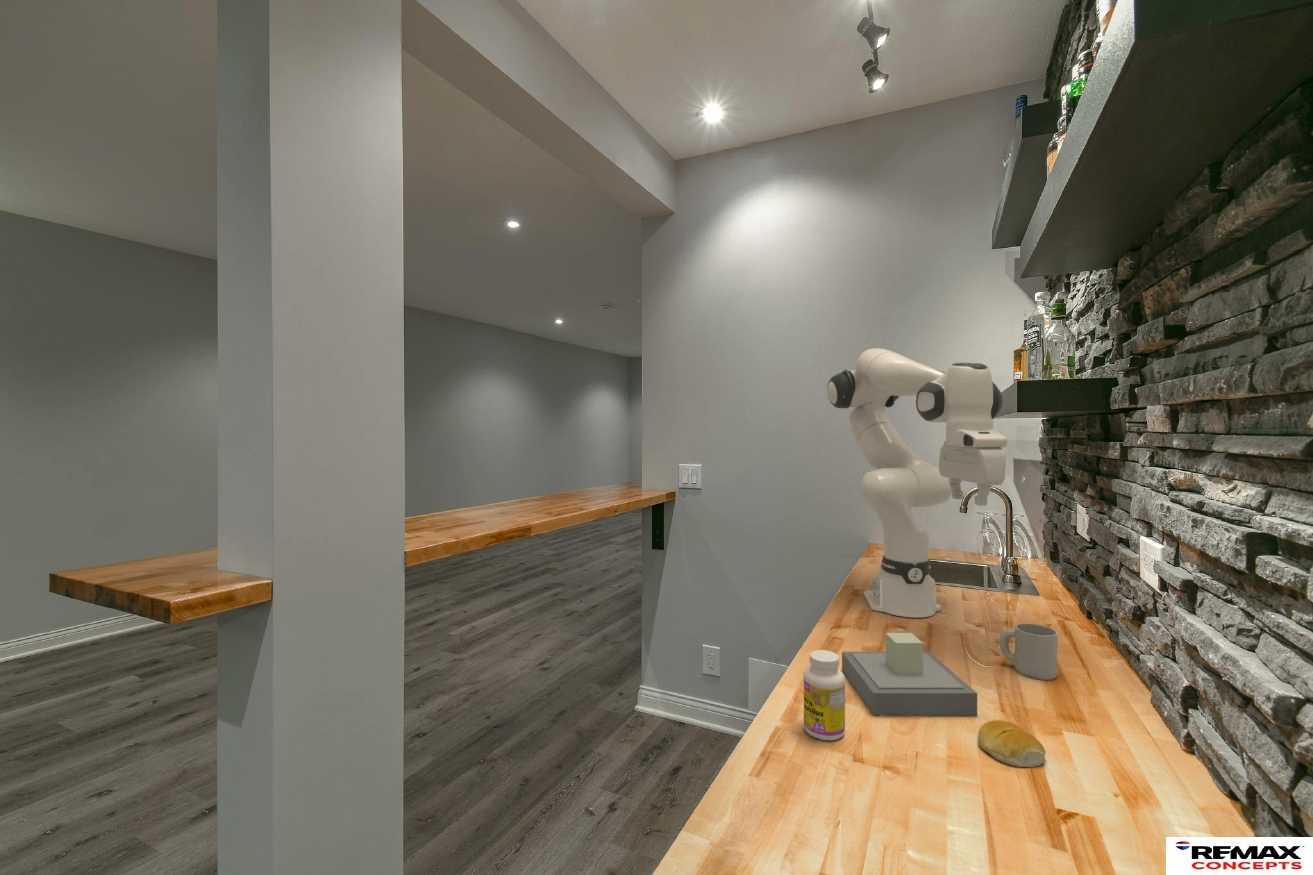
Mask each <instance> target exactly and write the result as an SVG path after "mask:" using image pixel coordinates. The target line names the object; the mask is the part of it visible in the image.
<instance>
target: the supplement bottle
mask: <svg viewBox="0 0 1313 875" xmlns="http://www.w3.org/2000/svg"><path fill="white" fill-rule="evenodd" d="M809 663H810V665H808V667H806V668H805V670H804V672H803V728H804V730H805V732H806V733H807V734H809V735H810V736H811V737H813V738H815V739H817V738H818V740H821V741H827V740H828V741H827V742H829V741H837V740H839V739H841V738H842V737H843V736H844V734H845V732H846V676H845V674H844V673H843V671H842V670H841V669H839V668H838V667H839V666H840V656H839V655H838V654H837V653H836V652H833V651H830V650H825V649H818V650H813V651H811V652H810V654H809Z"/></svg>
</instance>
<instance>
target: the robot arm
mask: <svg viewBox="0 0 1313 875" xmlns="http://www.w3.org/2000/svg"><path fill="white" fill-rule="evenodd" d="M857 358H858V359H857V360H856V366H855V367H856V368H855V369H853V370H847V369H844V370H843V371H841V372H839V373H837V374H834V375H833V376H832V377H831V378H830V379H829V381H828V382H827V385H826V386H827V387H826V389H827V390H826V393H827V397H828V400H829V402H830V404H832V406H833V407H834V408H837V409H849V408H853V409H852V411H851V412H850V414H849V418H848V419H849V424H850V427H851V431H852V434H853V436H854V438H855V441H856V442H857V444H858V446H859V449H860V450H861V452H862V454H863V455H864V458H865V459H866V460H867V463H868V464H869V465H870V466H871V467H873V468H874V470H870V471H868V472H866V473H865V474H864V475H863V477H862V478H861V481H860V484H859V491H860V495H861V496H860V497H862V500H864V503H866V505H868V506H869V507H870V508H872V509H873V511H875V513H876V515H877V517H878V518H879V521H880V523H881V526H882V532H883V549H884V551H883V552H884V555H882V560H881V566H880V568H881V569H880V570H879V571H877V573H876V574H874V575H873V576H872V580H869V581H868V588H869V589H868V590H864V592H863V596H864V598H865V600H866V602H867V604H868V606H869V608H870V610H872V611H876V612H881V613H882V612H883V613H886V614H888V615H893V616H898V617H904V618H914V619H915V618H927V617H932V616H934V615H935V614H936V612H940V611H942V606H941V604H939V603H937V593H936V592H937V591H936V581H935V579H934V578H933V577H932V576H931V575H930V574H931V569H932V568H931V560H930V559H929V533H928V530H927V528H926V527H925V526H924V525H922V524H920V523H919V522H918V521H916V520H915V519H914V516H913V513H912V508H925V507H926V508H927V507H929V508H930V507H932V506H936V505H941V504H942V503H943V504H944V503H946V502H947V501H948V500H949V499H950V498H952V499H954V500H963V498H964V491H962V487H961V483H962V482H969V483H972V484H973V483H974V484H976V489H977V490H978V491H977V494H976V495H975V496H974V504H975V506H976V505H977V506H981V507H982V506H987V505H988V497H989V495H990V492H991V491H992V486H1001V485H1002V484H1003V483H1004V481H1005V478H1006V467H1007V466H1006V464H1007V463H1006V460H1007V458H1006V452H1005V450H1004V449H1003V448H1006V447H1007V445H1008V439H1007V437H1006V436H1004V435H1002V434H1001V433H999V431H997V430H996V429H994V420H993V419H995V418H996V417H997V416H998V415H999V413H1000V411H1001V410H1002V407H1003V404H1004V401H1003V400H1004V397H1003V395H1002V392H1001V390H1000V388H999V387H998V386H997V385H996V383H994V382H993V378H992V374H991V370H990V367H989V366H987V365H986V364H983V363H978V362H977V363H976V362H955V363H952V364H950V365H949V366H948V368H947V370H946V371H941V370H939V369H935V368H933V367H931V366H928V365H925V364H924V363H923V364H922V363H920V362H918V361H915V360H913V359H911V358H908V357H906V356H904V355H901V354H899V353H897V352H895V351H892V350H889V349H885V348H878V347H873V348H869V349H867V350H865V351H863V352H862V353H861V354H860V355H859V357H857ZM906 396H907V397H910V396H912V397H913V396H916V400H915V406H916V410H917V412H918V414H919V416H920V417H921V418H922V419H923V420H924V421H926V422H930V423H945V441H944V442H943V445H942V446H941V448H940V451H939V458H938V459H939V461H938V467H937V466H935V465H932V464H930V463H929V462H927V461H926V460H924V459H923V458H922V457H920V456H919V455H917V453H915V452H914V451H913V450H911V448H910V447H909V446H907V444H906V443H905V442H904V440H903V438H902V437H901V436H900V434H899V433H898V431H897V429H896V428H895V426H894V425H893V423H892V422H891V420H890V419H889V418H888V415H887V413H886V410H885V409H886V408H891V407H893V406H894V405H895V401H897V400H898V399H899V397H906Z"/></svg>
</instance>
